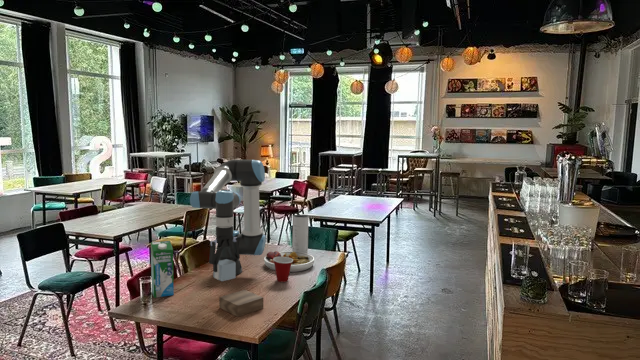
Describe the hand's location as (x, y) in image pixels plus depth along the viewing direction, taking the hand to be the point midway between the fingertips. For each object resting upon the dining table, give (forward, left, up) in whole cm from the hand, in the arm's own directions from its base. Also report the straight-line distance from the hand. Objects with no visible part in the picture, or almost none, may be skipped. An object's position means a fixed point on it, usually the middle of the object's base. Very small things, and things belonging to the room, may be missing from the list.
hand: (224, 276), depth 197 cm
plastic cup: (-12, +45, -15) cm, 49 cm away
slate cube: (0, 0, 0) cm, 0 cm away
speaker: (-45, +89, -15) cm, 101 cm away
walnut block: (+4, +6, -15) cm, 17 cm away
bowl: (-30, +66, -15) cm, 74 cm away
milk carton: (-37, -11, -15) cm, 41 cm away
